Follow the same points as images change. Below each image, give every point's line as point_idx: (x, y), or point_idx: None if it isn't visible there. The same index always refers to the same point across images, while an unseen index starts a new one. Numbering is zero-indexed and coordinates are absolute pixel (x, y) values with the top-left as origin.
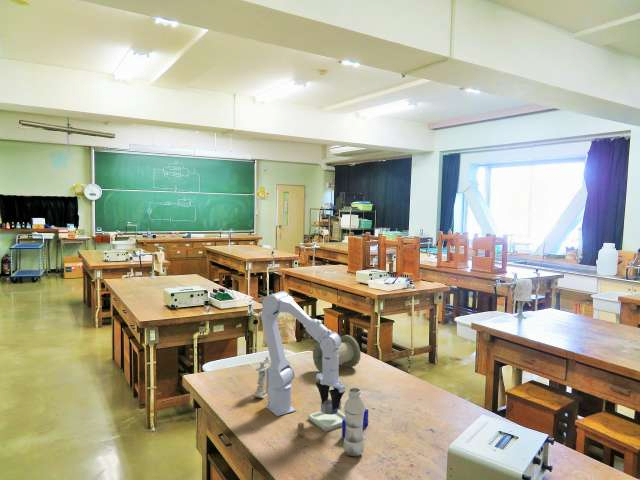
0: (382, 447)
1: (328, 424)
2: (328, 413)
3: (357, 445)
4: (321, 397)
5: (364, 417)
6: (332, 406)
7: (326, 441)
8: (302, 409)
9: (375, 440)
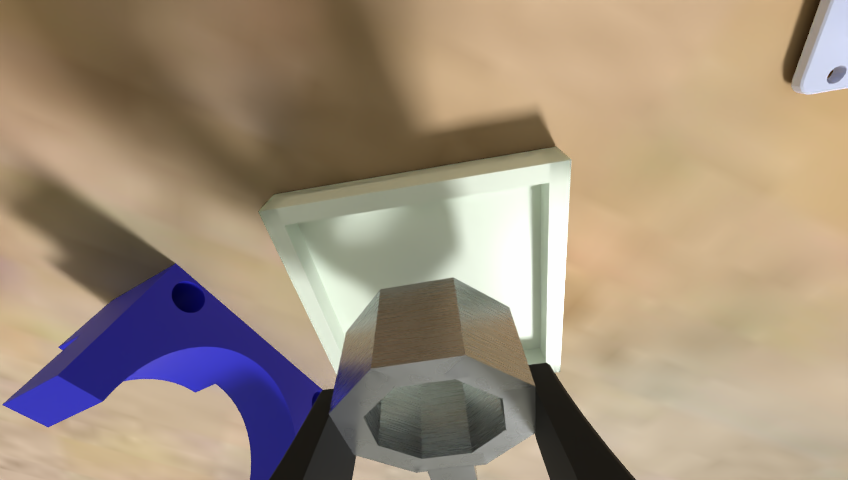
0: None
1: (362, 254)
2: (359, 320)
3: None
4: (561, 420)
5: (255, 464)
6: (318, 417)
7: (100, 129)
8: (752, 170)
9: (128, 389)
